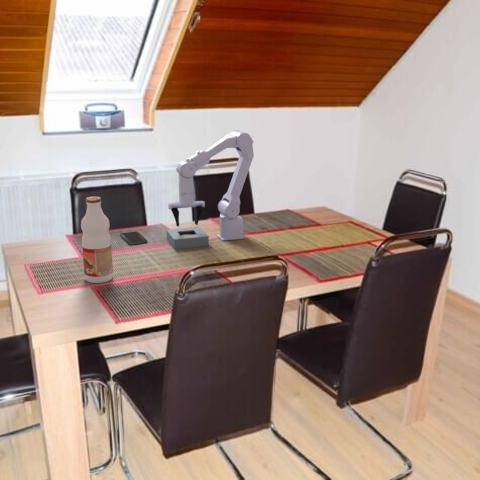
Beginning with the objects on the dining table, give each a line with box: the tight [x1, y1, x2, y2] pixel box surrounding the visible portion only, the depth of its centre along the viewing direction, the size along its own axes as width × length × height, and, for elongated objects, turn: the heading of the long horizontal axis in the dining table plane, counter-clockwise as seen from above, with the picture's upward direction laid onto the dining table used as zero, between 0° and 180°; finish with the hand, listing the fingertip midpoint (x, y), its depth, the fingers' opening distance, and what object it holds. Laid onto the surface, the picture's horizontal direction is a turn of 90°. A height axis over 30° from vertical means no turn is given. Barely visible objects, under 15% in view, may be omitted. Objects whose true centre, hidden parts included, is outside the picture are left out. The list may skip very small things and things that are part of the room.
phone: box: [119, 231, 148, 246], centre depth 229 cm, size 8×1×15 cm
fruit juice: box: [80, 195, 114, 284], centre depth 184 cm, size 9×9×28 cm
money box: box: [165, 226, 210, 250], centre depth 225 cm, size 14×14×4 cm
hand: (187, 225), depth 224 cm, fingers open, 7 cm apart
